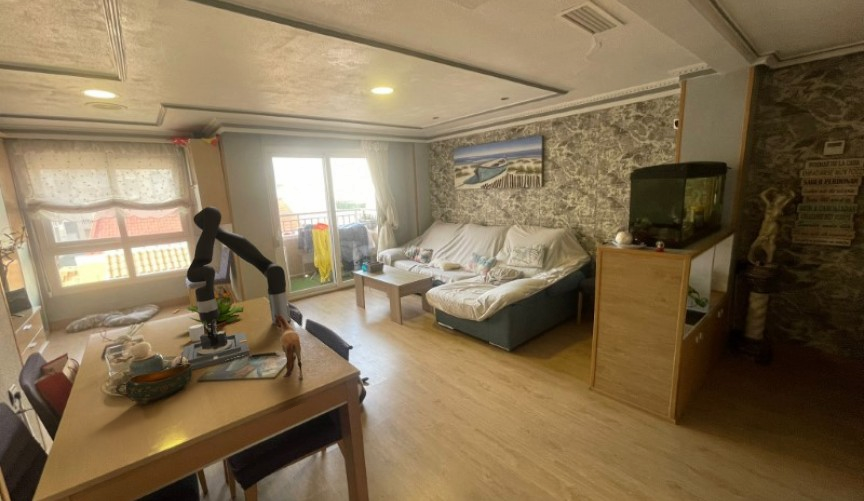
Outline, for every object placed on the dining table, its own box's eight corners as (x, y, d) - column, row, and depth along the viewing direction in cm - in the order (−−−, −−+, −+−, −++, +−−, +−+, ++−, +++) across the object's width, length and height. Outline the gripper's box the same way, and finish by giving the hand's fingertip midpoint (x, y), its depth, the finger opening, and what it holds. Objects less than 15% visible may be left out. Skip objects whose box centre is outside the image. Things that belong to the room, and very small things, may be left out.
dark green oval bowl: (136, 392, 132) (130, 368, 131) (196, 381, 139) (192, 357, 137) (118, 413, 120) (112, 386, 119) (185, 399, 127) (180, 374, 125)
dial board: (245, 335, 181) (244, 329, 180) (249, 354, 159) (248, 347, 158) (184, 350, 167) (183, 343, 167) (180, 373, 145) (178, 365, 145)
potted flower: (222, 332, 187) (217, 301, 184) (179, 334, 188) (173, 303, 185) (247, 315, 212) (243, 287, 209) (209, 317, 213) (204, 290, 209)
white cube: (209, 335, 184) (206, 323, 183) (199, 341, 177) (196, 328, 176) (197, 336, 185) (194, 323, 183) (186, 341, 178) (184, 329, 177)
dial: (205, 343, 168) (203, 329, 167) (237, 339, 171) (234, 325, 169) (191, 357, 155) (188, 341, 153) (225, 352, 157) (223, 337, 156)
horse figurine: (280, 357, 154) (274, 313, 151) (299, 352, 158) (293, 309, 154) (285, 392, 127) (276, 339, 123) (307, 385, 130) (300, 334, 126)
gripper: (200, 306, 164) (207, 340, 167) (196, 315, 151) (203, 352, 154) (218, 303, 167) (225, 336, 170) (216, 311, 155) (222, 347, 158)
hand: (214, 343), depth 162 cm, fingers closed on dial, 3 cm apart
